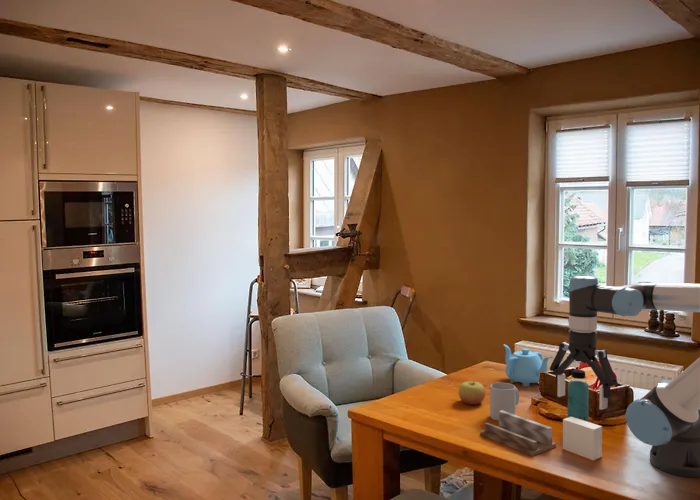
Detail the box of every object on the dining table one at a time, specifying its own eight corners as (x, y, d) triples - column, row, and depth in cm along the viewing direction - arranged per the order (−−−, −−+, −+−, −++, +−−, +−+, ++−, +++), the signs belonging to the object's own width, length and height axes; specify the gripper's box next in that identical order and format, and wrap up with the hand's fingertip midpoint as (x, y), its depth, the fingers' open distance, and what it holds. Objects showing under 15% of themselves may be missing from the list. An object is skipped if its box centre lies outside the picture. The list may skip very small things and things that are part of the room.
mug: (503, 423, 190) (503, 391, 190) (484, 416, 197) (484, 385, 197) (527, 416, 197) (527, 385, 196) (508, 409, 204) (508, 379, 203)
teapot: (503, 375, 246) (503, 343, 245) (551, 378, 240) (551, 345, 239) (500, 386, 231) (500, 352, 230) (551, 390, 224) (551, 355, 224)
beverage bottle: (578, 426, 186) (578, 366, 185) (593, 433, 180) (594, 371, 179) (562, 429, 184) (562, 368, 183) (577, 437, 178) (577, 374, 177)
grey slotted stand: (555, 446, 171) (555, 427, 170) (532, 456, 165) (532, 435, 164) (503, 426, 187) (503, 409, 187) (480, 434, 181) (480, 416, 181)
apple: (486, 407, 206) (486, 386, 205) (458, 406, 208) (458, 385, 207) (484, 398, 216) (484, 378, 215) (458, 398, 217) (458, 377, 217)
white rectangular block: (601, 456, 164) (602, 426, 163) (593, 460, 161) (593, 429, 161) (570, 445, 172) (571, 416, 171) (562, 448, 170) (562, 419, 169)
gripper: (631, 335, 156) (630, 411, 158) (553, 321, 177) (552, 388, 178) (616, 339, 152) (615, 417, 153) (538, 324, 172) (537, 393, 174)
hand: (581, 402), depth 166 cm, fingers open, 13 cm apart
